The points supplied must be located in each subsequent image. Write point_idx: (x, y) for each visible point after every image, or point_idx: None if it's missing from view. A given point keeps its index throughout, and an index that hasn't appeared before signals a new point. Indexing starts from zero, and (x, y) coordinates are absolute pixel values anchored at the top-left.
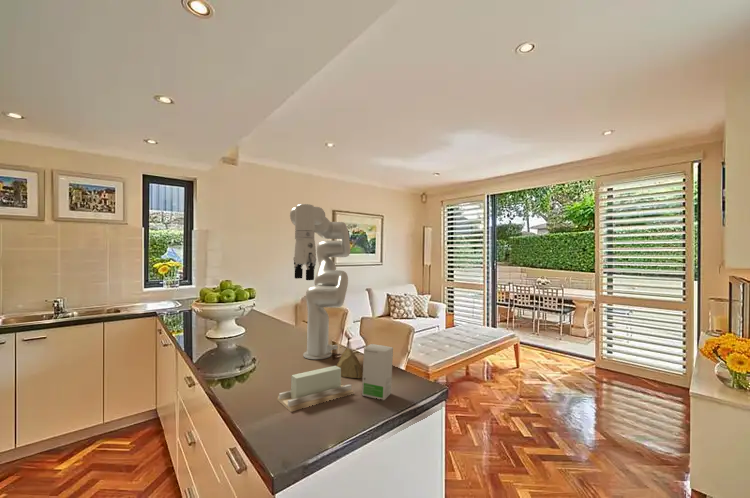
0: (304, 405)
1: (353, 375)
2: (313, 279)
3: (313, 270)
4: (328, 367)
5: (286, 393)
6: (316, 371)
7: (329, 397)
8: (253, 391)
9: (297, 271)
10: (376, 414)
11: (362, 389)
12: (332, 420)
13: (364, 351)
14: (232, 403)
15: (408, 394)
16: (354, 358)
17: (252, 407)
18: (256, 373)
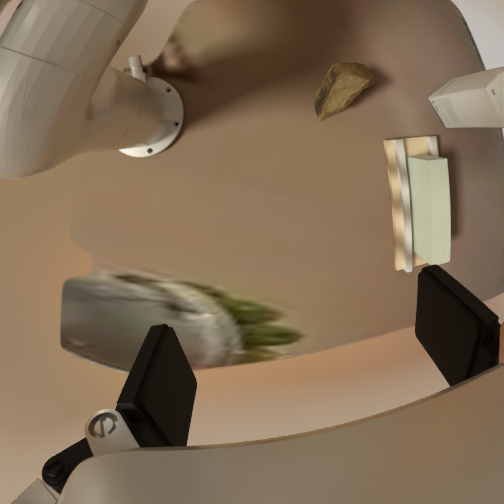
0: None
1: (362, 89)
2: (434, 268)
3: (490, 319)
4: (432, 181)
5: (411, 260)
6: (440, 214)
7: None
8: (337, 300)
9: (180, 422)
10: (494, 148)
11: (453, 127)
12: (482, 210)
13: (501, 127)
14: (367, 329)
15: (461, 58)
16: (368, 76)
17: (397, 304)
18: (235, 286)
